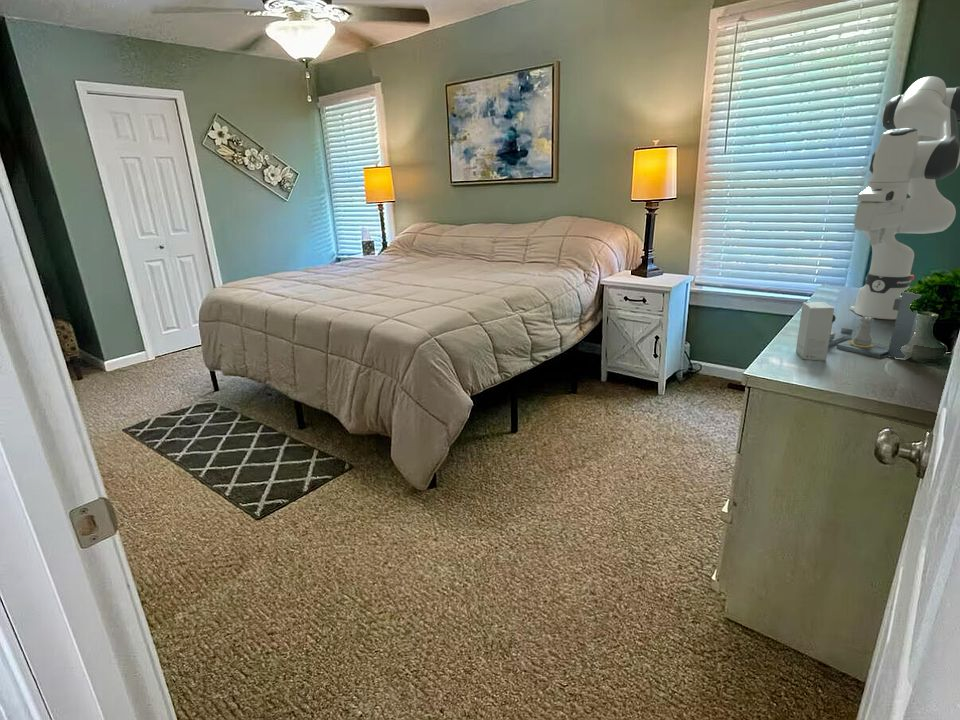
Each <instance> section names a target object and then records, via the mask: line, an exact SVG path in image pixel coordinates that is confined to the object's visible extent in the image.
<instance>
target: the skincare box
mask: <svg viewBox="0 0 960 720" xmlns="http://www.w3.org/2000/svg"><path fill="white" fill-rule="evenodd" d="M834 311H835V307H833V306H831V305H830V304H828V302H825V301H821V302H820V301H819V302H818V301H816V302H815V301H814V302H813V301H812V302H811V301H810V302H808V301H806V302H805V301H803V302H802V306H801V311H800V319H799V327H798V332H797V333H798V334H797V340H796V341H797V342H796V347H795V352H796V353H797V354H798V355H799V357H800V358H801V359H803V360H811V361H812V360H813V361H822V362H823V361H827V359H828V351H829V347H828V345H829V339H830V332H832V329H831V326H832V327H833V324H832V319H833V315H834V313H835V312H834Z"/></svg>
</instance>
